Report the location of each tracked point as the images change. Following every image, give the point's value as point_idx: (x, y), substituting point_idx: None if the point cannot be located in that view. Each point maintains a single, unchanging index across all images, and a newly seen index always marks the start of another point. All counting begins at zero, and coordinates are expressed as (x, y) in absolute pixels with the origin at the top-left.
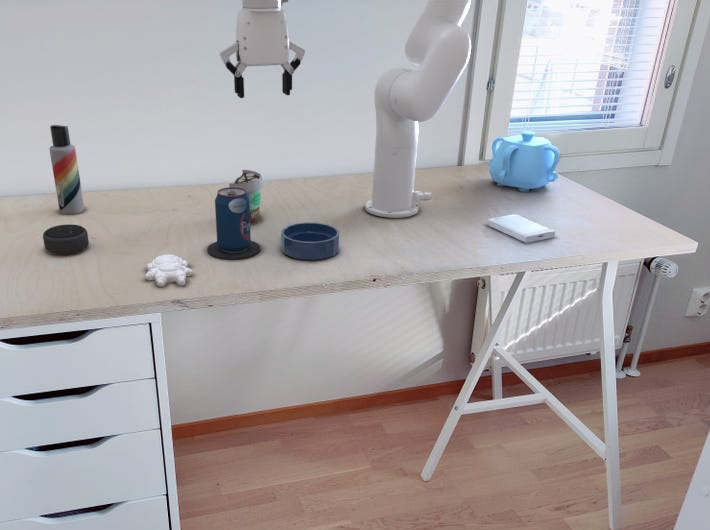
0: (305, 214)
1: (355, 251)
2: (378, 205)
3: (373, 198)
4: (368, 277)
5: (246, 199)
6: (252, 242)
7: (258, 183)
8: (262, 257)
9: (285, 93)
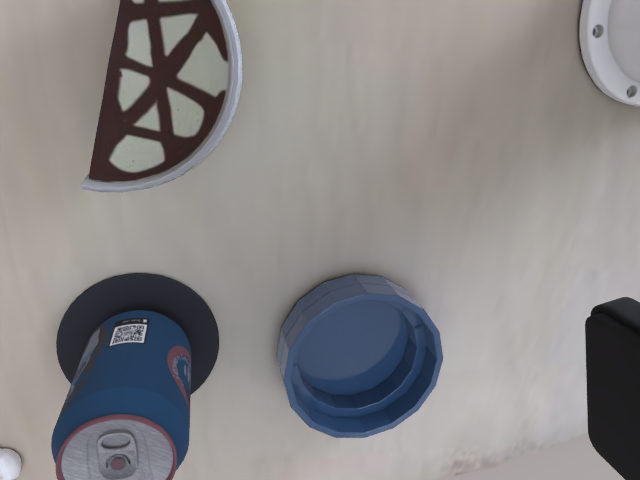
0: (381, 29)
1: (457, 342)
2: (622, 55)
3: (629, 22)
4: (447, 471)
5: (179, 464)
6: (195, 304)
7: (220, 136)
8: (224, 387)
9: (594, 413)
